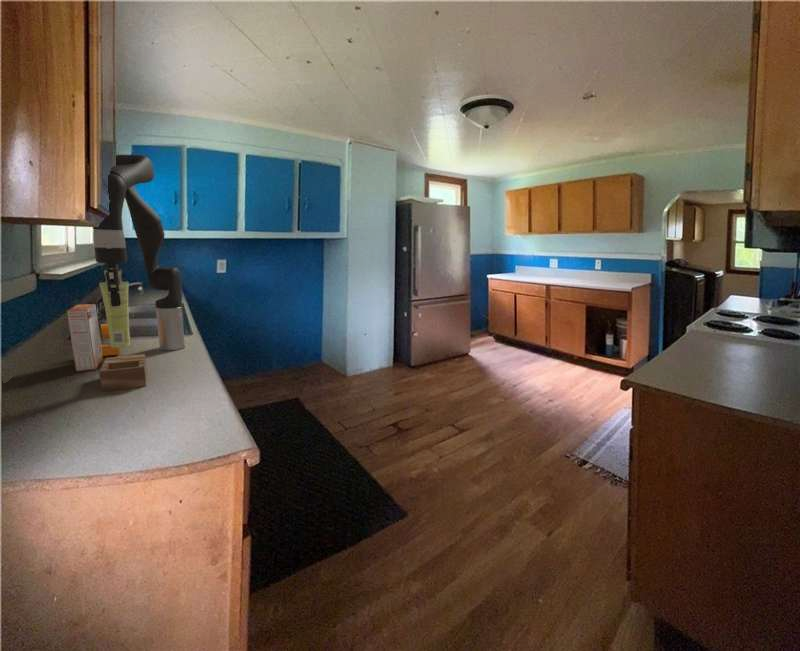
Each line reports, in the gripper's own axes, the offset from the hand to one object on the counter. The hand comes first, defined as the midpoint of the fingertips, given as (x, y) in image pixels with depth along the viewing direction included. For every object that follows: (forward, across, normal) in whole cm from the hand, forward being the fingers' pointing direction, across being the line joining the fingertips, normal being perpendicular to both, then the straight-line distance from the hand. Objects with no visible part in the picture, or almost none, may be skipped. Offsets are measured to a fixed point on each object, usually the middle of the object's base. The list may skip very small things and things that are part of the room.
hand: (116, 304), depth 121 cm
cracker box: (+25, -28, -12) cm, 39 cm away
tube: (+13, 0, 0) cm, 13 cm away
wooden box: (+25, -3, 0) cm, 25 cm away
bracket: (+25, -43, -8) cm, 50 cm away
